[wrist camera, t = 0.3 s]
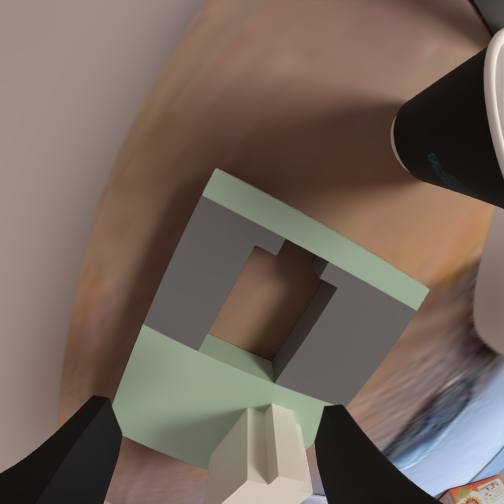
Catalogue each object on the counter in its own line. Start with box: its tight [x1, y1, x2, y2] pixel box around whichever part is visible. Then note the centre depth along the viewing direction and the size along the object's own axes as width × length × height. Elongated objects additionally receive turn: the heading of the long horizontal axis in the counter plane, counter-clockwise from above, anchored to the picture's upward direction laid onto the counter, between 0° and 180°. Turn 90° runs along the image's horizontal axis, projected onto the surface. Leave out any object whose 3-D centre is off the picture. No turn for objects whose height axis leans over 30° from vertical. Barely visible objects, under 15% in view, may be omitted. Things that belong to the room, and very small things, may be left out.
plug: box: [205, 404, 313, 504], centre depth 16 cm, size 11×4×6 cm, turn 152°
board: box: [112, 168, 430, 470], centre depth 19 cm, size 20×14×2 cm
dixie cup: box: [390, 28, 504, 209], centre depth 12 cm, size 8×8×11 cm
